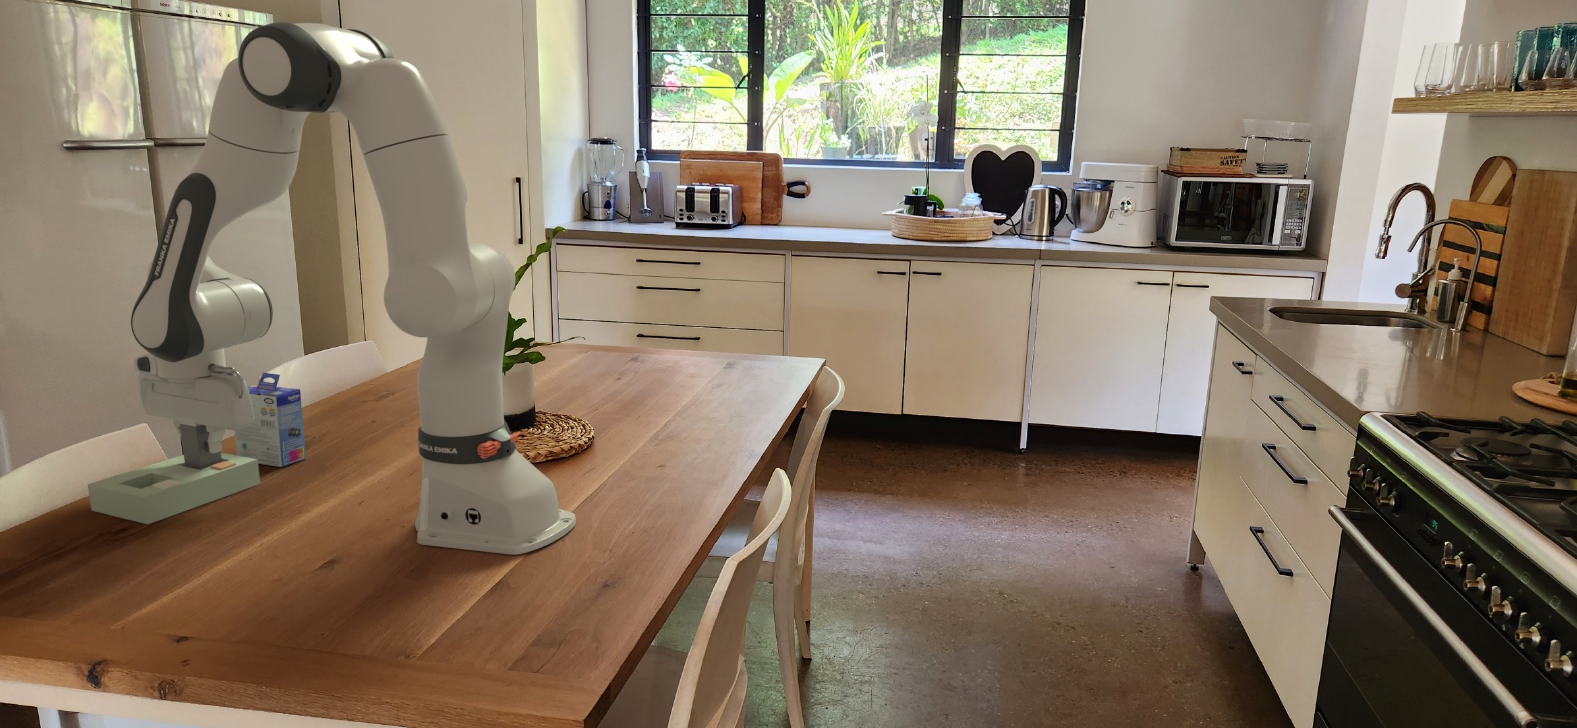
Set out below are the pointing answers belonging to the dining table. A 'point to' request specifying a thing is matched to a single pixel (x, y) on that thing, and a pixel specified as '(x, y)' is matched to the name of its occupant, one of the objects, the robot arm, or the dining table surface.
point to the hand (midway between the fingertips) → (202, 449)
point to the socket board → (171, 487)
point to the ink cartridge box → (273, 425)
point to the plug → (196, 445)
